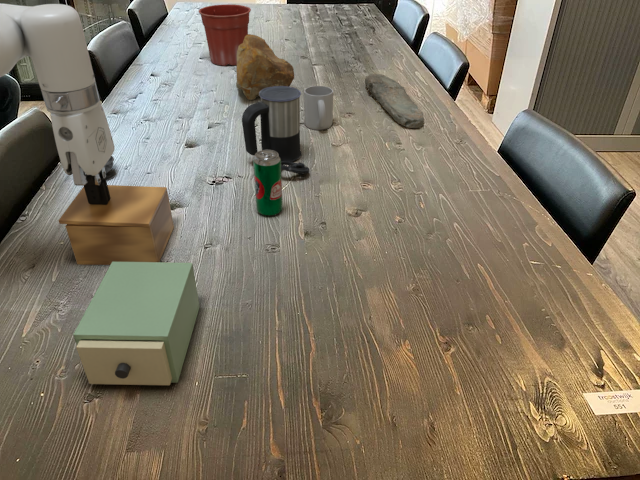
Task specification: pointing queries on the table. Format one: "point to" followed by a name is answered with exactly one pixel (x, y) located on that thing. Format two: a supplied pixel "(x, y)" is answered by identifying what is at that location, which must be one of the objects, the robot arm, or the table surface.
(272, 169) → the soda can
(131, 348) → the drawer
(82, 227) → the chest
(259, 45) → the jagged brown rock
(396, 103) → the elongated rock
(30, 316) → the table surface
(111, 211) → the lid
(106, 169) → the grey chess piece
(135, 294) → the cabinet
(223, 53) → the flower pot
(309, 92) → the cup
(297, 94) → the milk frother
